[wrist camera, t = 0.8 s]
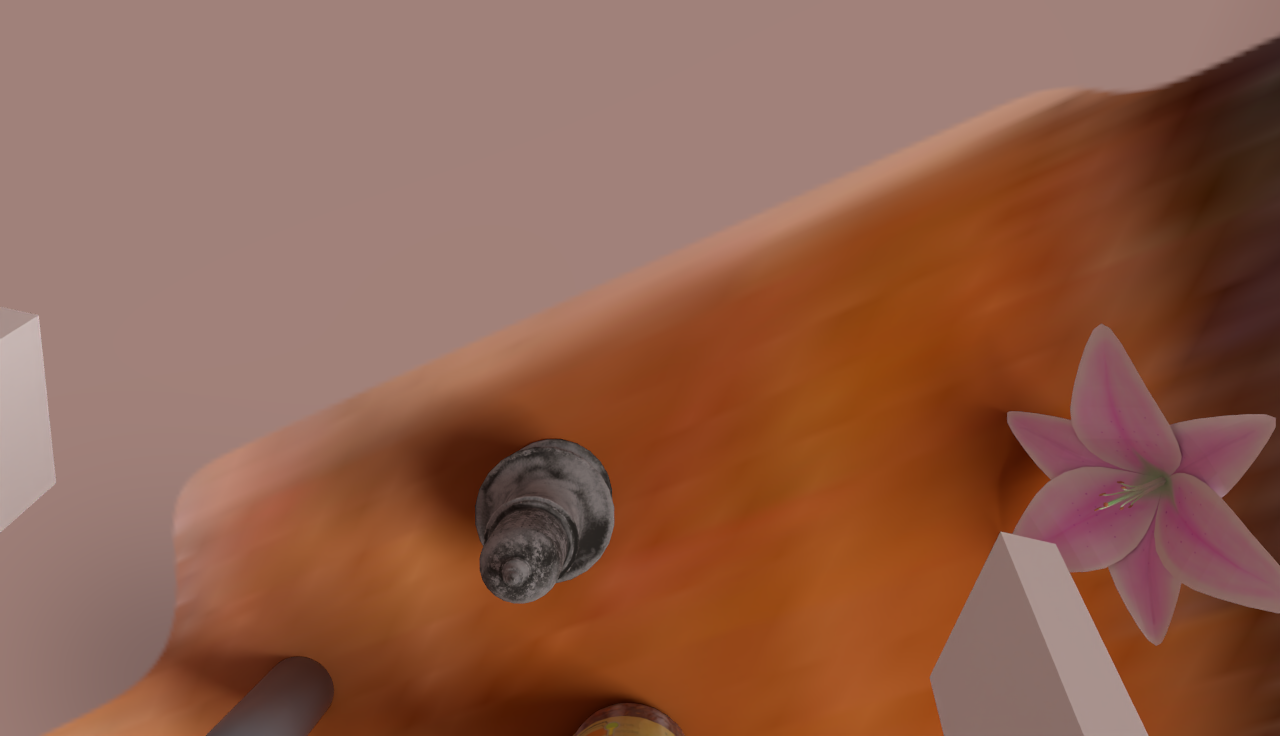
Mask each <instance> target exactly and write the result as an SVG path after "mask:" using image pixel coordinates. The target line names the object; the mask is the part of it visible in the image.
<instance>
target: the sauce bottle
mask: <svg viewBox="0 0 1280 736" xmlns="http://www.w3.org/2000/svg"><path fill="white" fill-rule="evenodd" d="M573 736H685V735H684V733H683V732H682V730H681V728H680V727H679V726H678V724H677V723H675V722H674V721H672V719H671V718H669V717H668V716H667V715H665V714H663V713H661V712H660V711H659V710H657V709H655V708H653V707H648V706H645V705H643V704H636V703H618V704H614V705H612V706H608V707H605V708H603V709H600V710H598V711H597V712H595V713H594V714H592V715H591V716H590V717H589V718H588V719H587V720H586V721H585V722H584V723H583V724H582V725H581V726H580V727H579V729H578V730H577V732H576V733H575V734H574V735H573Z"/></svg>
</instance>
